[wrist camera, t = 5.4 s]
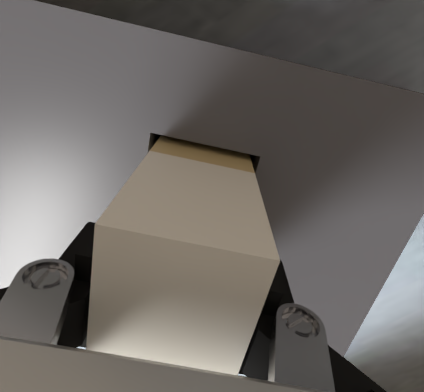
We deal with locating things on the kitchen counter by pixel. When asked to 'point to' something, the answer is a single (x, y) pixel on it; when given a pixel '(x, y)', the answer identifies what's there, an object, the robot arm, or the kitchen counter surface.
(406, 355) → the kitchen counter surface
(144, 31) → the grey socket block
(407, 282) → the kitchen counter surface
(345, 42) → the kitchen counter surface
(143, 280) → the plug
